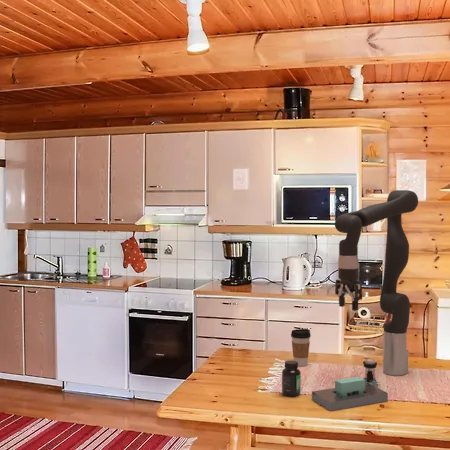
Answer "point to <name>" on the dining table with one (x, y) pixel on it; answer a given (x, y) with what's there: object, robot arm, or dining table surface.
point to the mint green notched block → (349, 386)
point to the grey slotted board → (349, 398)
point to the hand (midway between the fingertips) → (348, 308)
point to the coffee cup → (300, 346)
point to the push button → (370, 372)
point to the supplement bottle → (291, 379)
